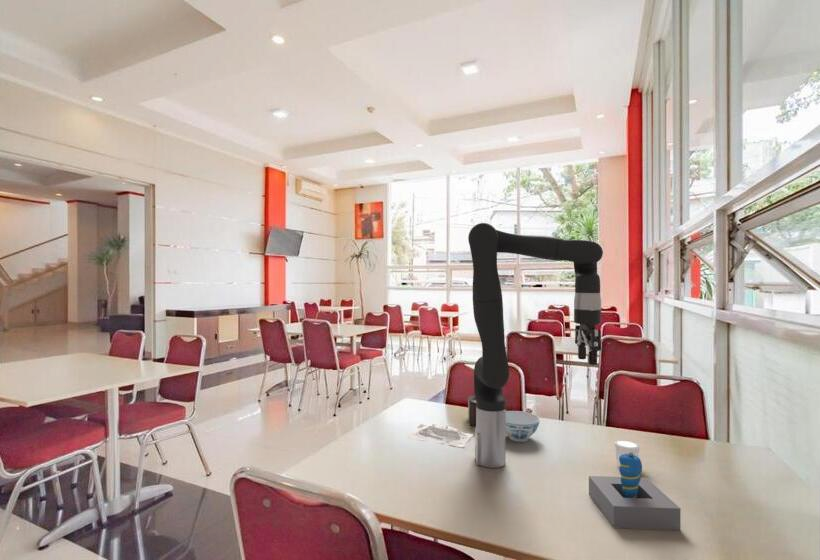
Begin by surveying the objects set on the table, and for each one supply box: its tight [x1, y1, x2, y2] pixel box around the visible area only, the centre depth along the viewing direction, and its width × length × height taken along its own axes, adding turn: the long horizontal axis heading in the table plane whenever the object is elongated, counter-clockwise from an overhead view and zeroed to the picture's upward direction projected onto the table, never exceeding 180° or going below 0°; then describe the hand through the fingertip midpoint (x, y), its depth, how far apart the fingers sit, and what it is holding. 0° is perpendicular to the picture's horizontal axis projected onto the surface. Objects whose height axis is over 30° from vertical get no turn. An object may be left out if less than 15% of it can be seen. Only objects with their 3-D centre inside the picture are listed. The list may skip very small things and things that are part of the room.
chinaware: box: [506, 410, 541, 443], centre depth 150 cm, size 15×15×8 cm
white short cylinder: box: [614, 439, 640, 468], centre depth 127 cm, size 7×7×7 cm
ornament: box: [618, 450, 643, 498], centre depth 102 cm, size 5×5×15 cm
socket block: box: [588, 475, 681, 531], centre depth 102 cm, size 15×15×5 cm
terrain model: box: [406, 423, 474, 449], centre depth 151 cm, size 17×23×5 cm
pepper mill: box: [467, 395, 476, 427], centre depth 169 cm, size 16×11×18 cm
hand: (587, 361), depth 123 cm, fingers open, 8 cm apart
